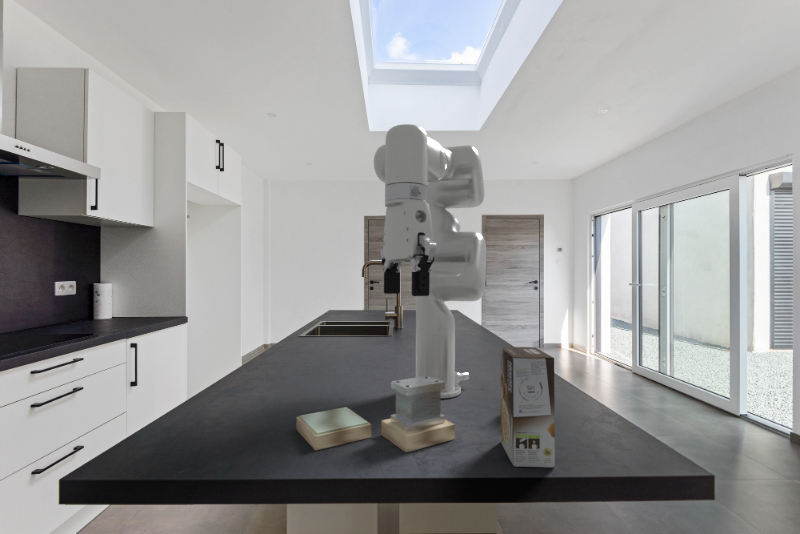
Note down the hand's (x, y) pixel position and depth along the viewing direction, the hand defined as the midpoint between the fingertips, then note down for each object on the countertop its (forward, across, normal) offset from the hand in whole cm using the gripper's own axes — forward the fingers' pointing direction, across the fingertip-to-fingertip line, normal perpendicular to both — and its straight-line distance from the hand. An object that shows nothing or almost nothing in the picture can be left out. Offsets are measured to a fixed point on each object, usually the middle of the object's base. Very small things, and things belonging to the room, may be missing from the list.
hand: (405, 294), depth 67 cm
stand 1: (+25, +7, +10) cm, 28 cm away
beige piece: (+25, -1, -2) cm, 25 cm away
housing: (+22, -1, -2) cm, 22 cm away
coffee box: (+25, -15, -13) cm, 32 cm away
